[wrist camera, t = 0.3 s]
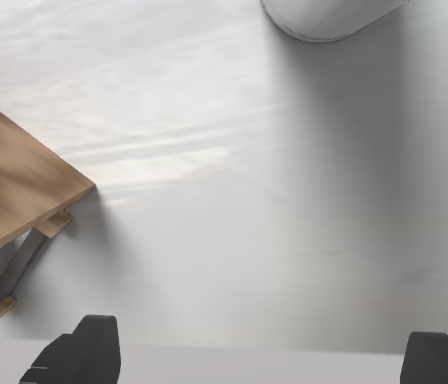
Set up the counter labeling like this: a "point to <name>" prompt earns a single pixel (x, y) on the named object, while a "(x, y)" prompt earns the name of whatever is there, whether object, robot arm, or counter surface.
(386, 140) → the counter surface
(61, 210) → the lane
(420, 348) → the robot arm
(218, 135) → the counter surface
